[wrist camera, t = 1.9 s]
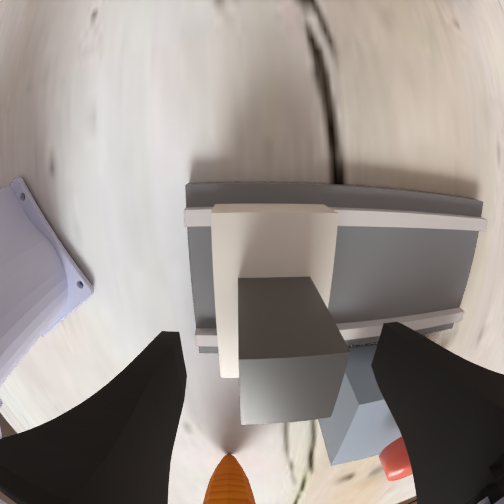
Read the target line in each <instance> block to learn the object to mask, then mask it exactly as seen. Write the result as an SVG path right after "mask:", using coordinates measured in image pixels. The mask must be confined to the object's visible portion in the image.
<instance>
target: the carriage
mask: <svg viewBox="0 0 504 504" xmlns="http://www.w3.org/2000/svg"><path fill="white" fill-rule="evenodd" d="M337 226H338V213H337V212H336V211H334V210H332V209H331V208H329V207H327V206H326V205H324V204H215V205H214V207H213V209H212V211H211V236H212V259H213V279H214V296H215V311H216V326H217V339H218V351H219V363H220V374H221V378H239V388H240V414H241V425H250V424H272V423H286V422H297V421H306V420H314V419H322V418H329V417H331V416H332V413H333V410H334V407H335V404H336V401H337V397H338V394H339V391H340V388H341V384H342V381H343V377H344V374H345V370H346V367H347V363H348V359H349V356H350V350H349V348H348V346H347V344H346V342H345V340H344V338H343V337H342V335H341V333H340V331H339V329H338V327H337V325H336V323H335V321H334V320H333V318H332V316H331V314H330V312H329V310H328V304H329V297H330V290H331V282H332V274H333V266H334V257H335V248H336V237H337Z"/></svg>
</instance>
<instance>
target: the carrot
mask: <svg viewBox="0 0 504 504" xmlns="http://www.w3.org/2000/svg"><path fill="white" fill-rule="evenodd" d="M203 504H256V503H255V500H254V496H253V493H252V490H251V487H250V484H249V480H248V478H247V476H246V474H245V472H244V471H243V469H242V467H241V466H240V464H239V463H238V461H237V460H236V458H235V457H234V456H232V455H231V454H227V455H225V456H224V457H223V459H222V460H221V462H220V463H219V464H218V466H217V467H216V469H215V471H214V473H213V475H212V477H211V478H210V481H209V484H208V488H207V491H206V494H205V498H204V502H203Z"/></svg>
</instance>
